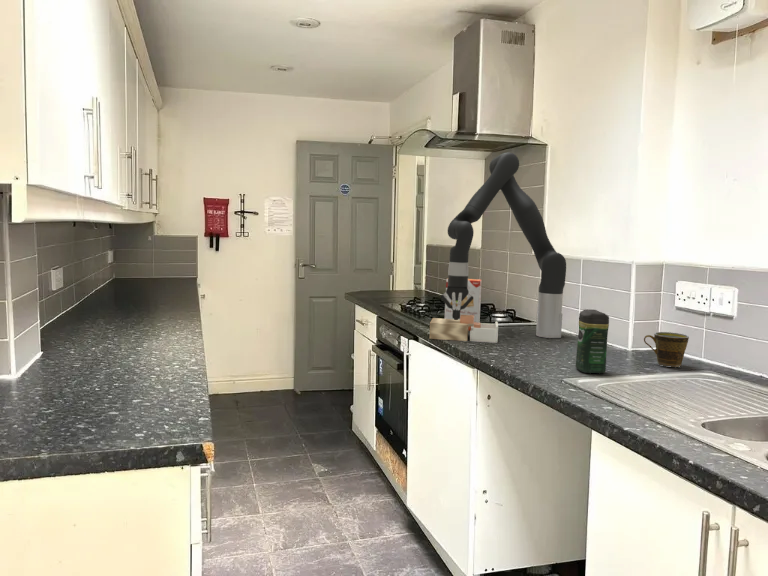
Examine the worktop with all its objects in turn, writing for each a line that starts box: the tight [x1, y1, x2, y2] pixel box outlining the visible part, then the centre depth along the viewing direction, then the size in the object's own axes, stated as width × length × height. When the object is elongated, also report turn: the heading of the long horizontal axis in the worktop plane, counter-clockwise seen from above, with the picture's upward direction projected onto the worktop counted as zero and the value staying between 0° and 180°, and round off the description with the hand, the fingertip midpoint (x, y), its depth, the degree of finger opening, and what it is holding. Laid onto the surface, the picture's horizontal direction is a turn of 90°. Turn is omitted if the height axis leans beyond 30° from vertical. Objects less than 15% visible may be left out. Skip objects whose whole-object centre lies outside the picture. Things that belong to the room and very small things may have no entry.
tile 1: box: [460, 315, 474, 324], centre depth 230 cm, size 5×5×2 cm
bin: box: [469, 321, 499, 344], centre depth 230 cm, size 10×12×6 cm
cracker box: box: [443, 277, 483, 332], centre depth 249 cm, size 14×6×21 cm, turn 75°
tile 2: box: [474, 322, 482, 328], centre depth 230 cm, size 5×5×2 cm
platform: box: [429, 317, 469, 342], centre depth 232 cm, size 14×12×6 cm
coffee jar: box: [575, 308, 610, 374], centre depth 183 cm, size 10×8×19 cm
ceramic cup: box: [643, 331, 690, 367], centre depth 194 cm, size 13×10×10 cm
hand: (456, 319), depth 231 cm, fingers closed
